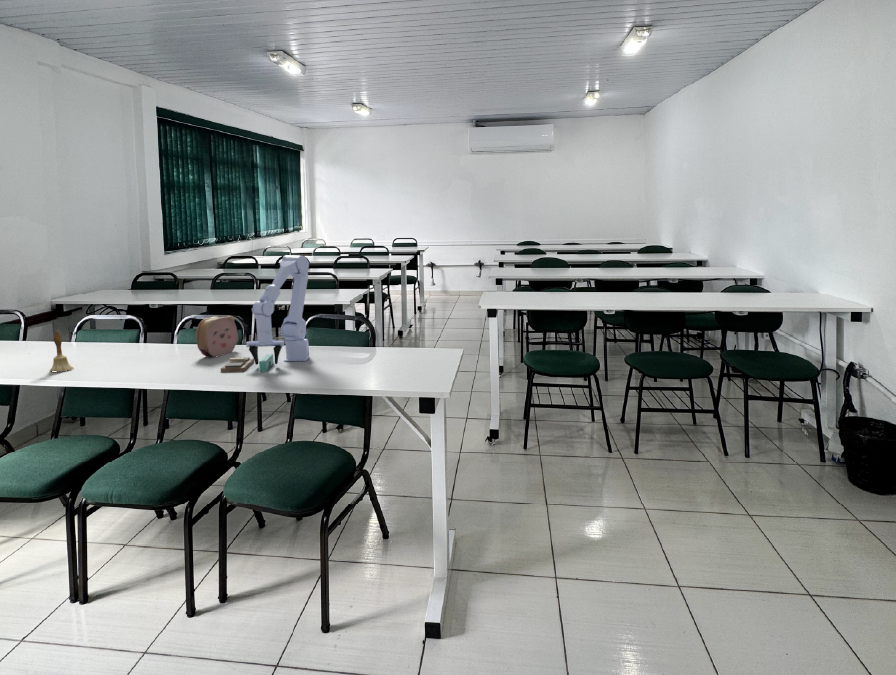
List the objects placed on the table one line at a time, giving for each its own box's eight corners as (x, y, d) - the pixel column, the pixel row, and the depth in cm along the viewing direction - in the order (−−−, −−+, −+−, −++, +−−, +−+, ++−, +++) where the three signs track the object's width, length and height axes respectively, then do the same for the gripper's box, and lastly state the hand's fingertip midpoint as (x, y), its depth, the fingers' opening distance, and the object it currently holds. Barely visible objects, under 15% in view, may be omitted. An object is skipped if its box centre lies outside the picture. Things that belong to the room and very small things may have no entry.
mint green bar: (267, 363, 248) (267, 353, 247) (273, 363, 248) (273, 353, 247) (259, 371, 234) (259, 361, 233) (266, 371, 234) (265, 361, 233)
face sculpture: (209, 359, 255) (206, 321, 252) (196, 358, 257) (193, 320, 254) (240, 350, 273) (237, 314, 270) (227, 349, 276) (224, 313, 272)
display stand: (232, 362, 249) (231, 354, 249) (254, 361, 250) (253, 353, 249) (220, 372, 234) (220, 363, 233) (244, 371, 234) (243, 362, 234)
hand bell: (51, 368, 241) (46, 330, 238) (75, 366, 244) (70, 328, 241) (47, 373, 234) (41, 333, 231) (71, 371, 237) (66, 332, 234)
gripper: (243, 333, 233) (245, 366, 236) (280, 332, 234) (282, 365, 237) (247, 329, 240) (250, 362, 243) (284, 329, 241) (286, 361, 244)
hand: (266, 363), depth 241 cm, fingers open, 7 cm apart
